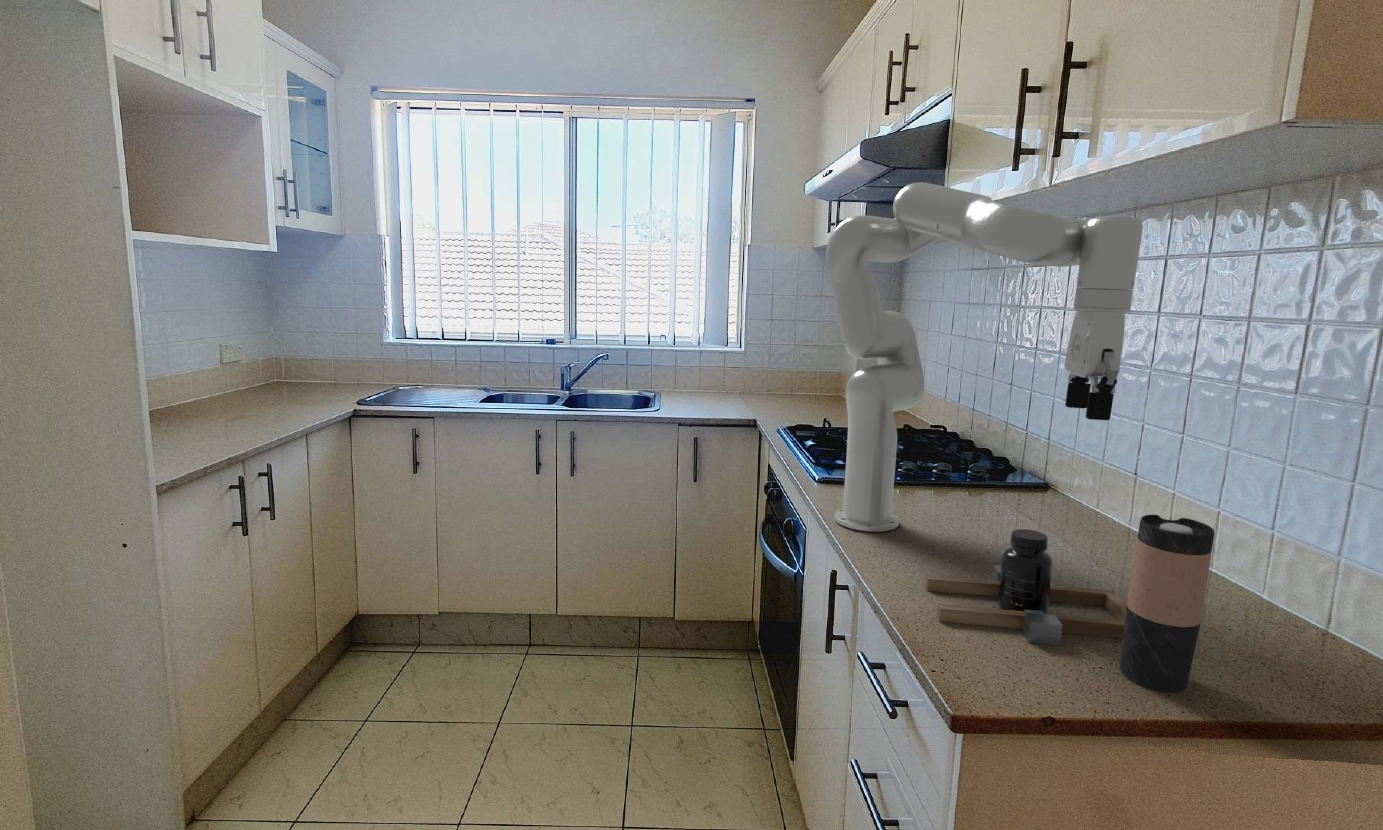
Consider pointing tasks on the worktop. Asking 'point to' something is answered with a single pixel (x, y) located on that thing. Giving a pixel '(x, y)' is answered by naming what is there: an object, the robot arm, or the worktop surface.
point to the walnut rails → (1016, 617)
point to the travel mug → (1165, 602)
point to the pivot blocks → (1037, 623)
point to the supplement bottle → (1025, 572)
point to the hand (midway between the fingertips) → (1086, 413)
